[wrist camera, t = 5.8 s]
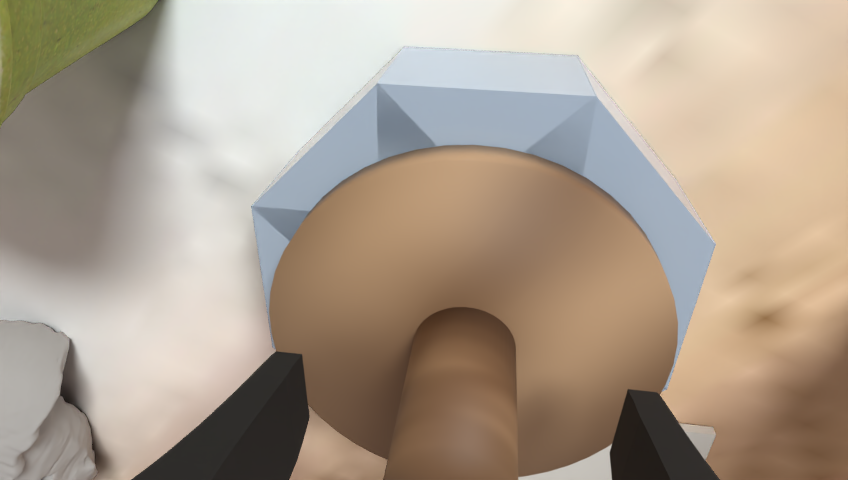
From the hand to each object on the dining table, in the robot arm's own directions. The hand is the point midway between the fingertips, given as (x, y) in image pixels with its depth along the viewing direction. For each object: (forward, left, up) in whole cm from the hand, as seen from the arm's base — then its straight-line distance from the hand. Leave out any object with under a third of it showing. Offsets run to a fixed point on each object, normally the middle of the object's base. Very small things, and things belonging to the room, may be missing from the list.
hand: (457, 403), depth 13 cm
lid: (0, +1, -4) cm, 4 cm away
